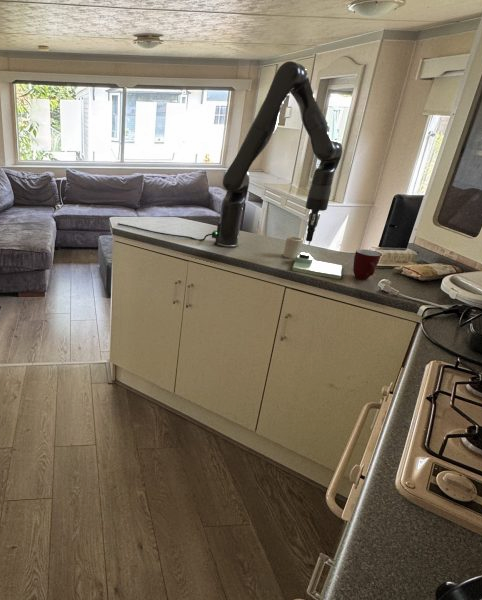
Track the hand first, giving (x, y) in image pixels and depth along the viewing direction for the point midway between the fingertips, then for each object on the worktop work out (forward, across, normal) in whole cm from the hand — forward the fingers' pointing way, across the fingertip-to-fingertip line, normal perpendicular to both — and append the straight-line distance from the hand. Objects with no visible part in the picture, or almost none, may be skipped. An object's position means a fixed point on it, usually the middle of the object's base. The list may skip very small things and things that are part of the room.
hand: (308, 240), depth 170 cm
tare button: (+7, 0, 0) cm, 7 cm away
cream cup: (+10, -8, -6) cm, 14 cm away
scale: (+10, +4, +5) cm, 12 cm away
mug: (+10, +6, +21) cm, 24 cm away
